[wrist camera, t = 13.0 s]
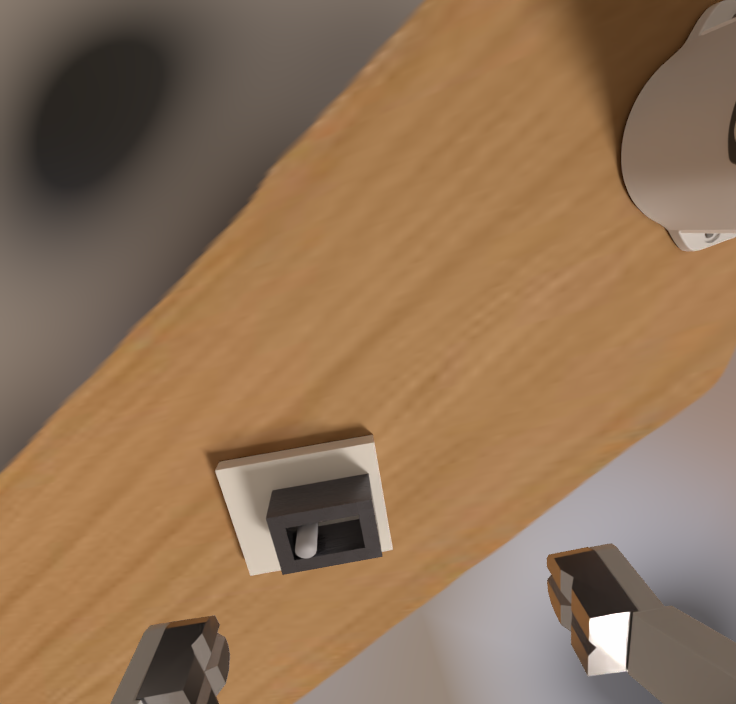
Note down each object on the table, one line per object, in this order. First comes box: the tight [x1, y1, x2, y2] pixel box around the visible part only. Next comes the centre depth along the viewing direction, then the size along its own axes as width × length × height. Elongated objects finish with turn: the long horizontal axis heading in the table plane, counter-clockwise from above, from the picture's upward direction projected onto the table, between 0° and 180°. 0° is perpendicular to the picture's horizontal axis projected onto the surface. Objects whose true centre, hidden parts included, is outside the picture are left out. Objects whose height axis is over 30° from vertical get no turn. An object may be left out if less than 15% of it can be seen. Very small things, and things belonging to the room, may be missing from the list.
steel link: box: [266, 473, 382, 575], centre depth 40 cm, size 10×7×4 cm
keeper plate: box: [215, 435, 393, 576], centre depth 40 cm, size 16×14×6 cm
